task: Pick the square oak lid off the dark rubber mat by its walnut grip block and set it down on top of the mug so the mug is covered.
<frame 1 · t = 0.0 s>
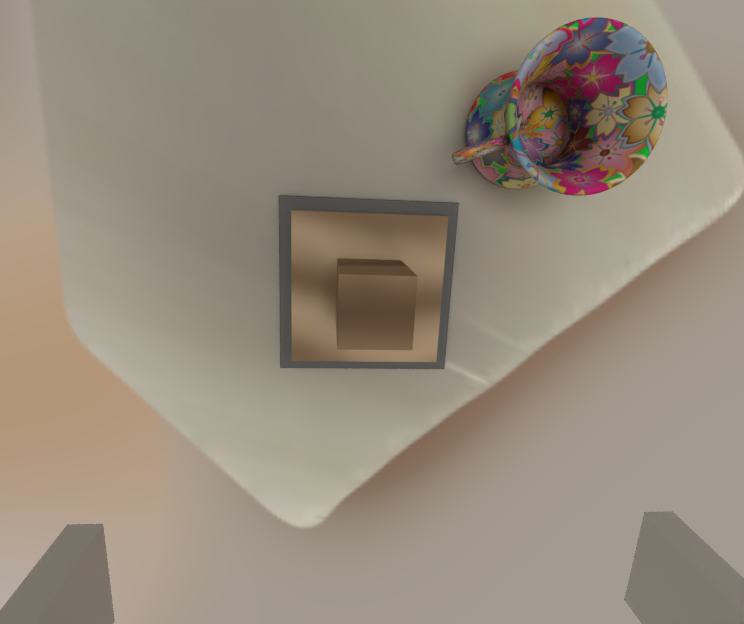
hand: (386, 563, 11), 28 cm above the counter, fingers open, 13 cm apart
mat: (366, 286, 38), on the counter
mug: (498, 139, 36), on the counter
lid: (366, 287, 37), point 1 cm above the counter, touching mat
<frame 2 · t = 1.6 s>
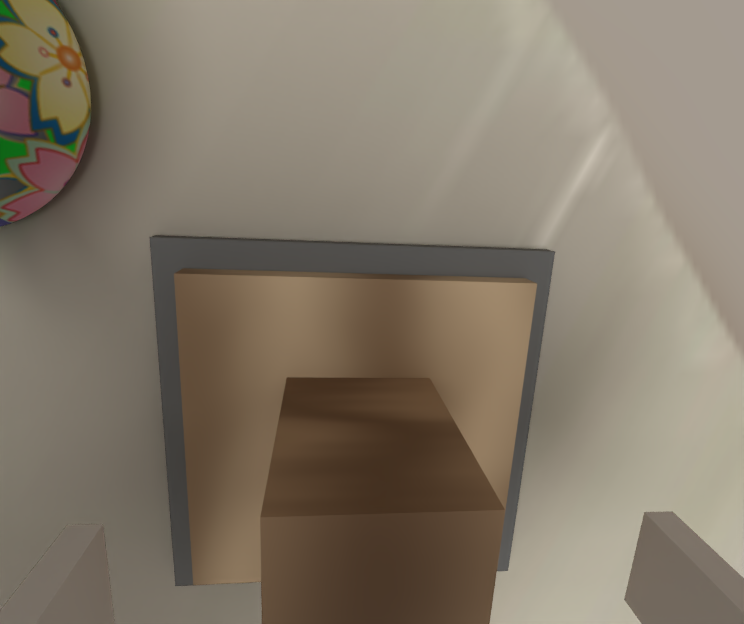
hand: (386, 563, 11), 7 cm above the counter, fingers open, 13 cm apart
mat: (353, 420, 18), on the counter
lid: (354, 428, 18), point 1 cm above the counter, touching mat
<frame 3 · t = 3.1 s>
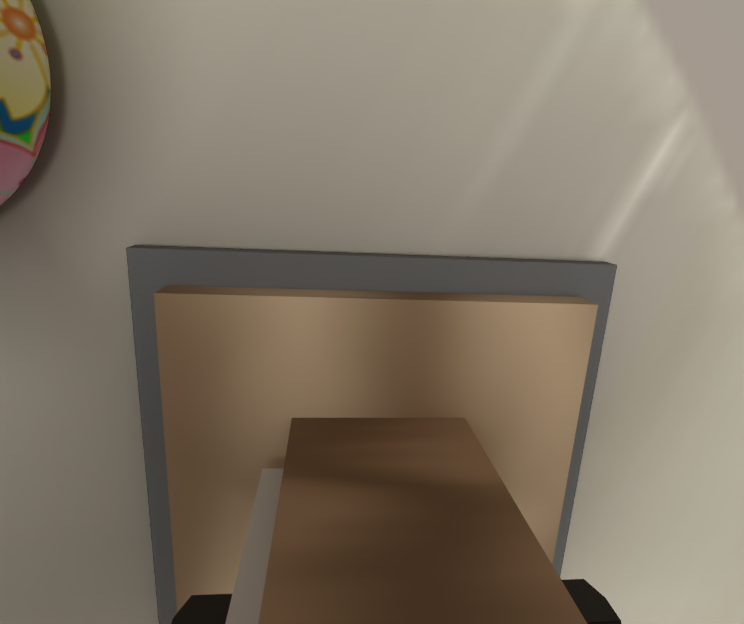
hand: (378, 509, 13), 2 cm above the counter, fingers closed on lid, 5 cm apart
mat: (371, 462, 15), on the counter
lid: (372, 473, 15), point 1 cm above the counter, touching gripper, mat
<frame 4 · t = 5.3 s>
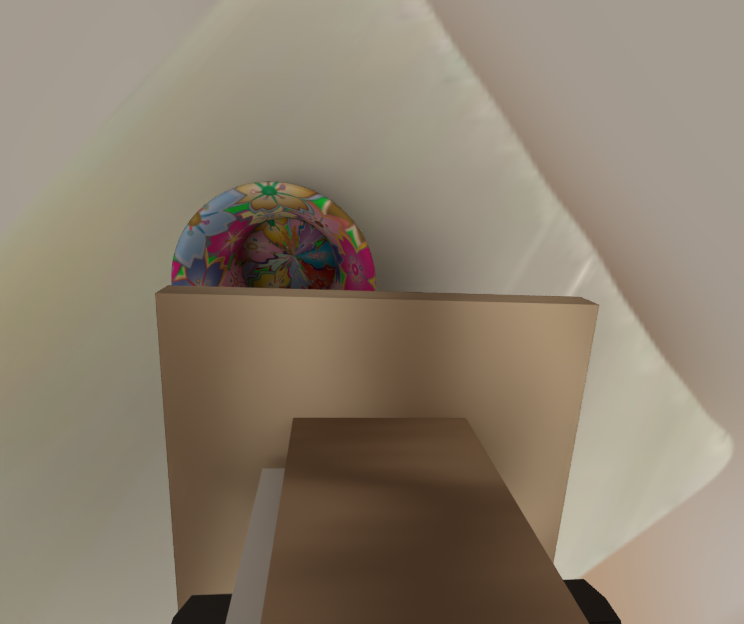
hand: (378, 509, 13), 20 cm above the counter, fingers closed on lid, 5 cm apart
mug: (302, 272, 32), on the counter
lid: (373, 473, 15), point 19 cm above the counter, touching gripper
when the fingers open (14 cm above the counter, at t = 7.5 s): lid drops 2 cm, resting on mug.
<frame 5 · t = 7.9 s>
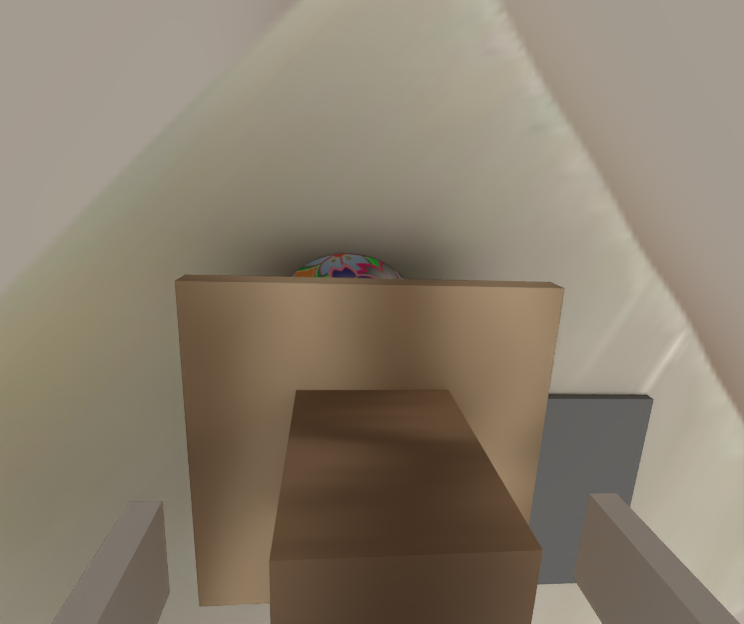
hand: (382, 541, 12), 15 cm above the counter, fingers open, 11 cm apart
mat: (527, 491, 31), on the counter
mug: (354, 344, 27), on the counter, touching lid
lid: (368, 441, 17), point 11 cm above the counter, touching mug
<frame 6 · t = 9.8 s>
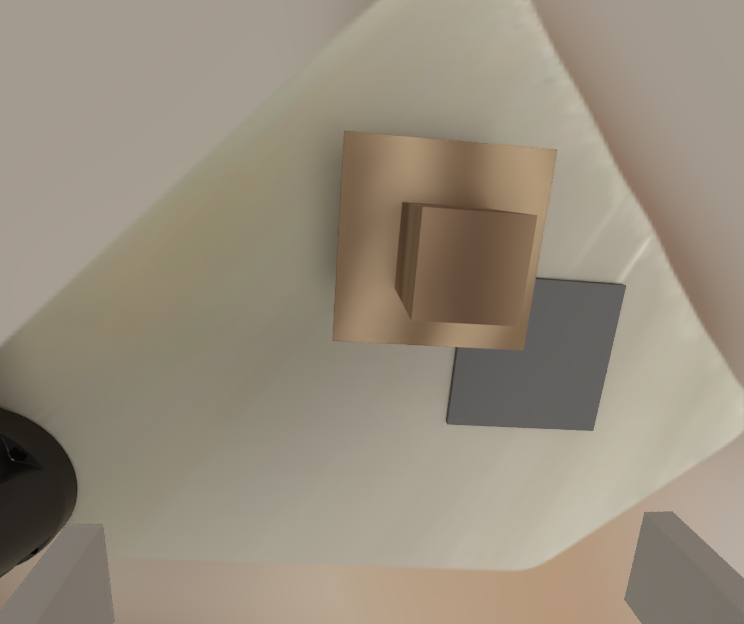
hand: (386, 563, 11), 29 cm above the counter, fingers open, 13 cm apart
mat: (531, 354, 42), on the counter
lid: (437, 246, 28), point 11 cm above the counter, touching mug
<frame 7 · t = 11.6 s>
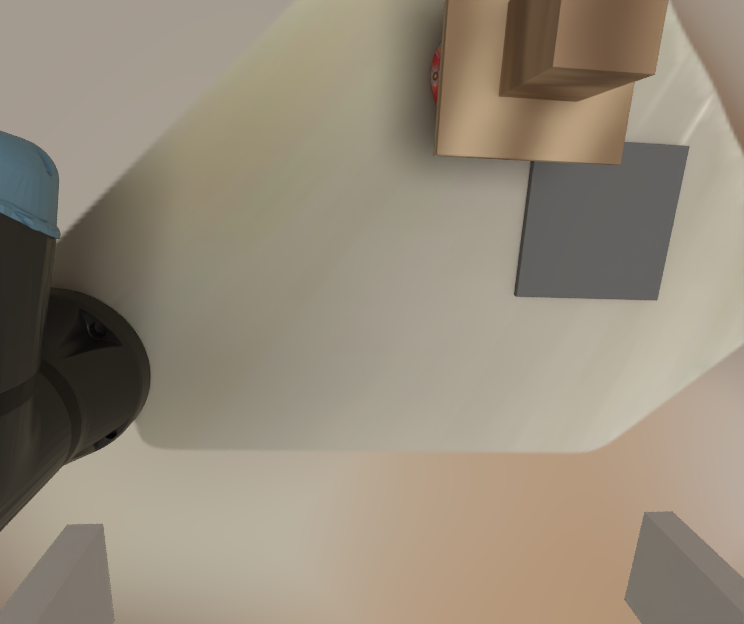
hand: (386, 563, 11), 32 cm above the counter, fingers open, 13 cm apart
mat: (597, 222, 42), on the counter
mug: (482, 95, 39), on the counter, touching lid
lid: (536, 58, 28), point 11 cm above the counter, touching mug
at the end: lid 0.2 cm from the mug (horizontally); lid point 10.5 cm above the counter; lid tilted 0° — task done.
